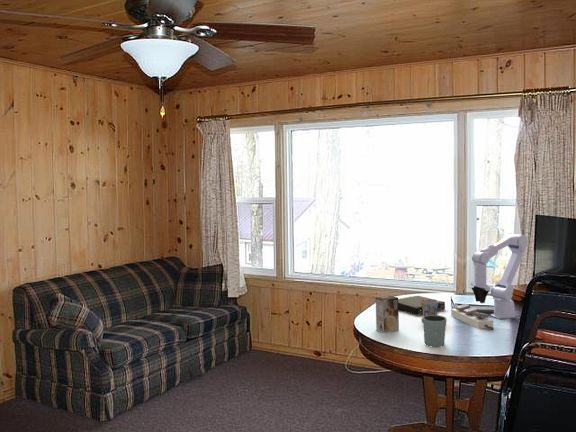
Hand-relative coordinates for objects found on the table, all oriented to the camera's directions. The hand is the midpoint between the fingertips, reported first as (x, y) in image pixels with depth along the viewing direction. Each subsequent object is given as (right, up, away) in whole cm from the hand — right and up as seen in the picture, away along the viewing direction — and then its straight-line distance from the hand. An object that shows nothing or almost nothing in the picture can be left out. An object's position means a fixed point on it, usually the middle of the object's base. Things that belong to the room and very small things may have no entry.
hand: (480, 302), depth 288 cm
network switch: (-25, -9, +28) cm, 39 cm away
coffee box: (-49, -12, -12) cm, 52 cm away
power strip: (-4, -10, -3) cm, 11 cm away
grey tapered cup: (-32, -13, -36) cm, 50 cm away
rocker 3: (-3, -6, -9) cm, 11 cm away
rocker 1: (-7, -5, +7) cm, 11 cm away
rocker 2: (-5, -5, -1) cm, 7 cm away
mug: (-25, -10, +2) cm, 27 cm away
